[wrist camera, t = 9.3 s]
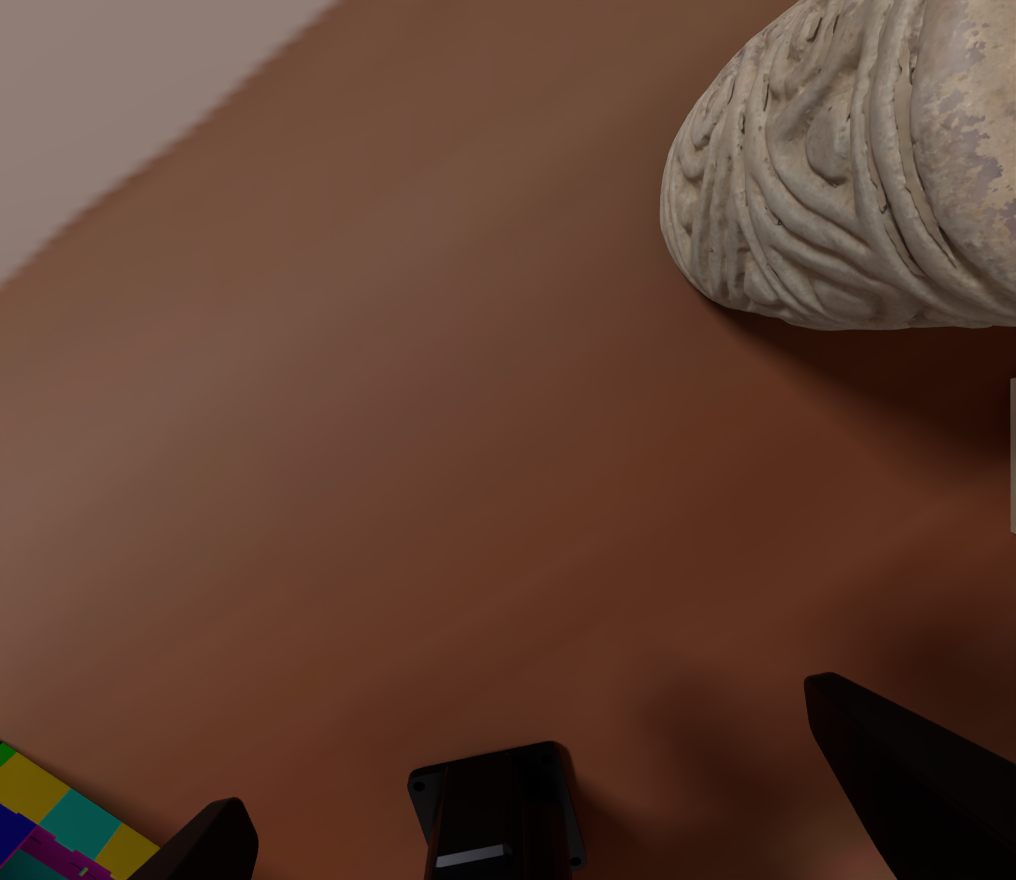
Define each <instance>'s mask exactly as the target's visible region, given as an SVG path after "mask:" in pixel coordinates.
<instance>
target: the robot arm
mask: <svg viewBox="0 0 1016 880" xmlns="http://www.w3.org/2000/svg"><path fill="white" fill-rule="evenodd" d="M804 691H805V698H806V706H807V713H808V720H809V725H810V728H811V731H812V733H813V736H814V738H815V740H816V742H817V743H818V745H819V747H820V749H821V751H822V752H823V754H824V756H825V758H826V759H827V761H828V763H829V765H830V767H831V768H832V770H833V772H834V774H835V776H836V777H837V779H838V781H839V783H840V784H841V786H842V788H843V790H844V792H845V793H846V795H847V797H848V799H849V801H850V802H851V804H852V806H853V808H854V809H855V811H856V813H857V815H858V817H859V818H860V820H861V822H862V824H863V825H864V827H865V829H866V831H867V833H868V834H869V836H870V838H871V839H872V841H873V843H874V844H875V846H876V848H877V850H878V851H879V853H880V854H881V856H882V857H883V859H884V860H885V862H886V863H887V865H888V866H889V868H890V869H891V871H892V872H893V874H894V875H895V877H896V878H897V880H1016V764H1015V763H1013V762H1011V761H1010V760H1008V759H1006V758H1004V757H1002V756H1000V755H998V754H996V753H994V752H992V751H990V750H988V749H986V748H984V747H982V746H980V745H978V744H976V743H974V742H972V741H970V740H968V739H966V738H964V737H962V736H960V735H958V734H956V733H954V732H952V731H950V730H948V729H946V728H944V727H942V726H940V725H938V724H936V723H934V722H932V721H930V720H928V719H926V718H924V717H922V716H920V715H918V714H916V713H914V712H912V711H910V710H908V709H906V708H904V707H902V706H900V705H898V704H896V703H894V702H892V701H890V700H888V699H886V698H884V697H882V696H880V695H878V694H876V693H874V692H872V691H870V690H868V689H866V688H864V687H862V686H860V685H858V684H856V683H855V682H853V681H851V680H849V679H847V678H845V677H843V676H841V675H839V674H836V673H833V672H825V673H821V674H816V675H811V676H808V677H806V678H805V680H804ZM545 755H550V757H543V756H545ZM418 782H422V783H418ZM407 787H408V791H409V794H410V797H411V800H412V802H413V805H414V808H415V811H416V814H417V816H418V819H419V822H420V825H421V828H422V830H423V833H424V836H425V839H426V842H427V845H428V853H427V860H426V867H425V874H424V880H572V871H577V870H580V869H582V868H584V867H585V866H586V864H587V858H586V851H585V847H584V843H583V840H582V836H581V832H580V828H579V825H578V821H577V817H576V814H575V810H574V806H573V803H572V799H571V795H570V791H569V788H568V784H567V780H566V777H565V773H564V769H563V765H562V762H561V758H560V754H559V751H558V748H557V746H555V745H554V744H552V743H549V742H547V743H540V744H535V745H530V746H525V747H521V748H516V749H511V750H506V751H501V752H497V753H492V754H487V755H482V756H478V757H473V758H468V759H463V760H458V761H454V762H449V763H444V764H439V765H434V766H430V767H425V768H420V769H416V770H414V771H412V772H411V773H410V776H409V779H408V784H407ZM257 854H258V835H257V833H256V830H255V828H254V826H253V824H252V821H251V819H250V817H249V815H248V813H247V810H246V808H245V806H244V804H243V802H242V800H240V799H239V798H237V797H232V798H227V799H222V800H217V801H214V802H212V803H210V804H209V805H207V806H206V807H205V808H204V809H203V810H202V811H201V812H200V813H199V814H198V815H196V816H195V817H194V818H193V819H192V820H191V821H190V822H189V823H188V824H187V825H185V826H184V827H183V828H182V829H181V830H180V831H179V832H178V833H177V834H176V835H175V836H173V837H172V838H171V839H170V840H169V841H168V842H167V843H166V844H165V845H164V846H163V847H161V848H160V849H159V850H158V851H157V852H156V853H155V854H154V855H153V856H152V857H150V858H149V859H148V860H147V861H146V862H145V863H144V864H143V865H142V866H141V867H140V868H138V869H137V870H136V871H135V872H134V873H133V874H132V875H131V876H130V877H129V878H127V879H126V880H251V878H252V874H253V870H254V866H255V862H256V858H257Z"/></svg>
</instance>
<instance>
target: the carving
mask: <svg viewBox="0 0 1016 880" xmlns="http://www.w3.org/2000/svg"><path fill="white" fill-rule="evenodd" d="M660 225H661V230H662V233H663V236H664V239H665V242H666V245H667V247H668V250H669V253H670V255H671V257H672V258H673V260H674V262H675V263H676V265H677V266H678V268H679V269H680V271H681V272H682V273H683V274H684V275H685V277H686V278H687V279H688V280H689V282H690V283H691V284H692V285H693V286H694V287H695V288H697V289H698V290H699V291H700V292H701V293H702V294H704V295H705V296H706V297H708V298H709V299H711V300H713V301H715V302H717V303H718V304H720V305H722V306H724V307H727V308H731V309H738V310H742V311H746V312H753V313H758V314H761V315H764V316H768V317H777V318H781V319H782V320H784V321H785V322H787V323H789V324H791V325H795V326H801V327H805V328H810V329H815V330H825V331H834V330H849V329H859V330H897V329H905V328H911V327H916V328H926V327H927V328H929V327H946V326H957V327H965V328H972V329H974V328H986V327H990V326H993V325H996V326H1016V0H800V1H798V2H797V3H796V4H795V5H794V6H792V7H791V8H789V9H788V10H787V11H785V12H784V13H783V14H782V15H780V16H779V17H778V18H777V19H776V20H774V21H773V22H772V23H771V24H769V25H768V26H767V27H766V28H765V29H763V30H762V31H761V32H760V33H758V34H757V35H755V36H754V37H753V38H752V39H751V40H749V41H748V42H747V43H746V44H745V46H744V47H743V48H742V49H741V50H740V51H739V52H738V53H737V54H736V55H735V56H734V57H733V58H732V59H731V60H730V61H729V63H728V64H727V65H726V66H725V67H724V68H723V69H722V71H721V72H720V73H719V74H718V76H717V77H716V78H715V80H714V81H713V83H712V84H711V85H710V86H709V88H708V89H707V90H706V91H705V93H704V94H703V95H702V96H701V97H700V99H699V100H698V101H697V102H696V104H695V106H694V108H693V109H692V110H691V112H690V113H689V115H688V116H687V118H686V120H685V121H684V123H683V125H682V126H681V128H680V130H679V132H678V134H677V135H676V137H675V139H674V141H673V144H672V146H671V149H670V151H669V154H668V158H667V162H666V165H665V169H664V173H663V179H662V185H661V196H660Z"/></svg>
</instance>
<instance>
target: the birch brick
mask: <svg viewBox="0 0 1016 880" xmlns="http://www.w3.org/2000/svg"><path fill="white" fill-rule="evenodd" d="M1010 383H1011V532H1012V533H1014V534H1016V378H1012V379H1010Z"/></svg>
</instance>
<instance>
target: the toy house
mask: <svg viewBox="0 0 1016 880" xmlns="http://www.w3.org/2000/svg"><path fill="white" fill-rule="evenodd" d="M159 849H160V847H158V846H157V845H155V844H154V843H152V842H151V841H149V840H148V839H146V838H145V837H144V836H142V835H141V834H139V833H138V832H136V831H135V830H133V829H132V828H130V827H129V826H127V825H126V824H124V823H123V822H121V821H120V820H118V819H117V818H115V817H114V816H112V815H111V814H109V813H108V812H106V811H105V810H103V809H102V808H100V807H99V806H97V805H96V804H94V803H93V802H91V801H90V800H88V799H87V798H85V797H84V796H82V795H81V794H79V793H78V792H76V791H75V790H73V789H72V788H70V787H69V786H67V785H66V784H64V783H63V782H61V781H60V780H58V779H57V778H55V777H54V776H52V775H51V774H49V773H48V772H46V771H45V770H43V769H42V768H40V767H39V766H37V765H36V764H34V763H33V762H31V761H30V760H28V759H27V758H25V757H24V756H22V755H21V754H19V753H18V752H16V751H15V750H13V749H12V748H10V747H9V746H8V745H6V744H5V743H2V744H1V745H0V880H126V879H127V878H129V877H130V876H131V875H132V874H133V873H134V872H135V871H136V870H137V869H138V868H140V867H141V866H142V865H143V864H144V863H145V862H146V861H147V860H148V859H149V858H150V857H152V856H153V855H154V854H155V853H156V852H157V851H158V850H159Z"/></svg>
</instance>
